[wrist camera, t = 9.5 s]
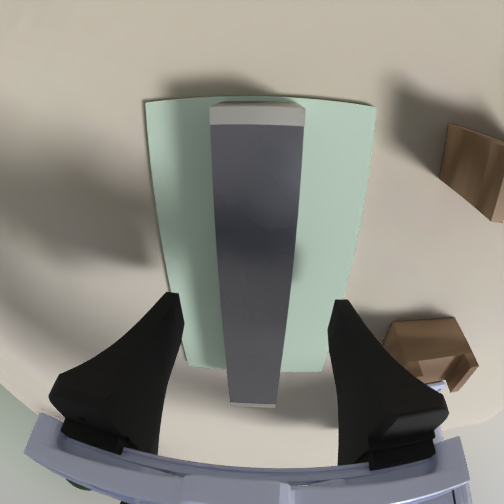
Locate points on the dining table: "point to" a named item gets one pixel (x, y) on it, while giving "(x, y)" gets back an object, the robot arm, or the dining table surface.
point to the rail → (255, 236)
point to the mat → (308, 225)
